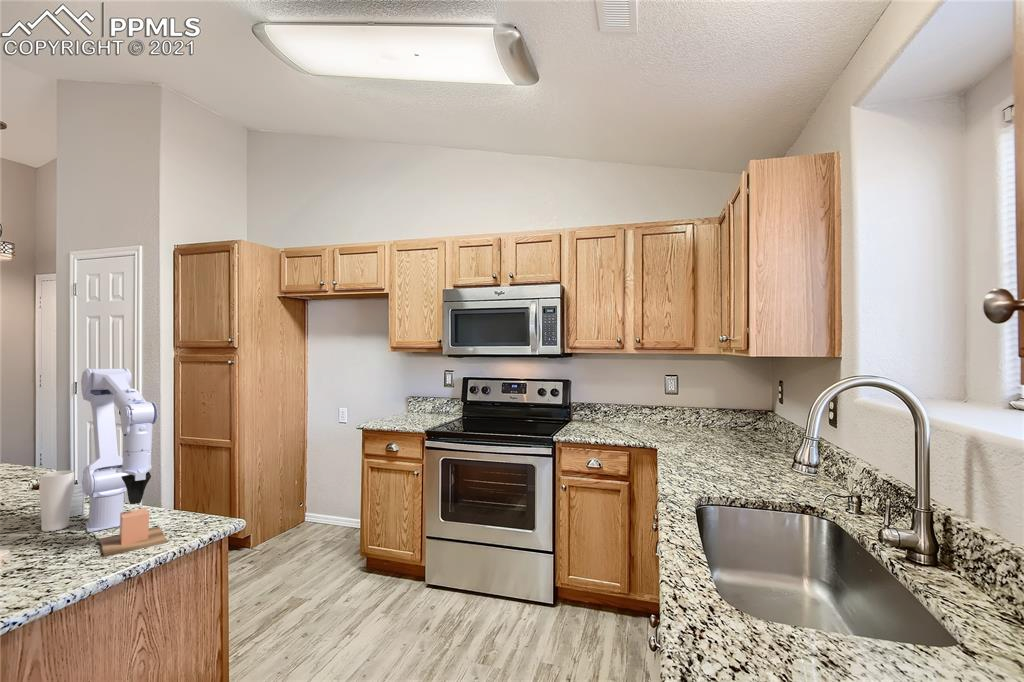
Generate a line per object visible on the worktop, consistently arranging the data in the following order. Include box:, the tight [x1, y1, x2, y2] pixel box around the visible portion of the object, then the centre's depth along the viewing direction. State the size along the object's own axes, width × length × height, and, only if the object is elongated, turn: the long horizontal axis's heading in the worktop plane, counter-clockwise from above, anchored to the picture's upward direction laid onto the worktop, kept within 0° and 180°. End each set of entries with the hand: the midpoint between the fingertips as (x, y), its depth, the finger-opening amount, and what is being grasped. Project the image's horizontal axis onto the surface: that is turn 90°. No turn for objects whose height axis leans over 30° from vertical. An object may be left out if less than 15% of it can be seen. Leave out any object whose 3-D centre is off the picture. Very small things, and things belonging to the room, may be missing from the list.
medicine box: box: [69, 483, 86, 518], centre depth 132 cm, size 8×4×9 cm, turn 141°
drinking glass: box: [38, 470, 75, 533], centre depth 124 cm, size 7×7×15 cm
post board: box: [99, 526, 168, 558], centre depth 116 cm, size 12×12×5 cm
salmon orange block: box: [118, 507, 150, 545], centre depth 116 cm, size 5×5×7 cm
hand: (135, 503), depth 116 cm, fingers closed
